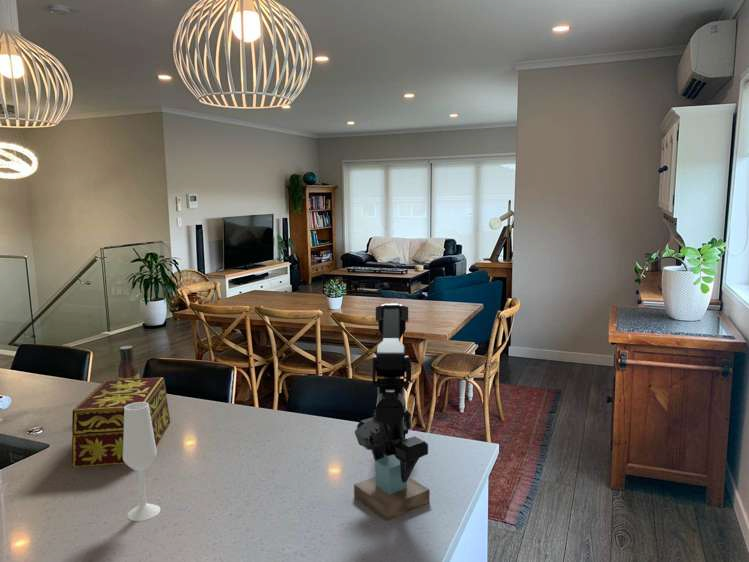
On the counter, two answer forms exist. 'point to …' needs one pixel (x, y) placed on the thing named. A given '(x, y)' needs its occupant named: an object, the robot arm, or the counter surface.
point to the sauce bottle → (127, 364)
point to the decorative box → (114, 419)
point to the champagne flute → (139, 453)
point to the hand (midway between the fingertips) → (391, 473)
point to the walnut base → (391, 498)
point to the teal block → (389, 475)
